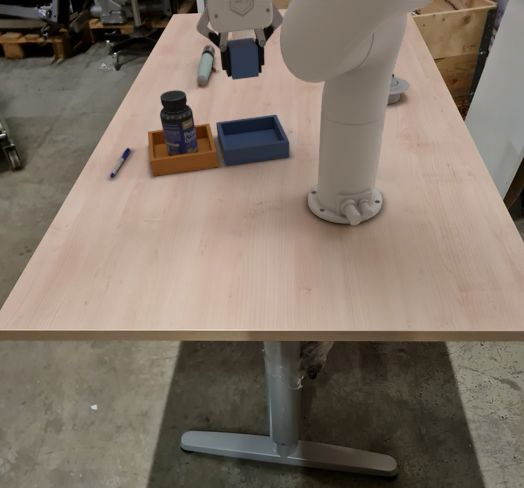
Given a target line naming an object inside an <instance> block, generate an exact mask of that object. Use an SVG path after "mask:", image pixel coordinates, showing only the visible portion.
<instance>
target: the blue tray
mask: <svg viewBox="0 0 524 488" xmlns="http://www.w3.org/2000/svg"><path fill="white" fill-rule="evenodd" d="M215 125H216V133H217V138H218V142H219V147H220V149H221V154H222V158H223V161H224V164H225V166H226V167H229V166H235V165H243V164H248V163H255V162H263V161H270V160H277V159H285V158H290V140H289V138H288V136H287V134H286V132H285V129H284V128H283V126H282V123H281V121H280V120H279V117H278V115H277V114H270V115H262V116H255V117H254V116H253V117H248V118H240V119H233V120H225V121H224V120H223V121H218V122H217V121H216V122H215Z"/></svg>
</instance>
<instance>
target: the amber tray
mask: <svg viewBox="0 0 524 488" xmlns="http://www.w3.org/2000/svg"><path fill="white" fill-rule="evenodd" d="M194 125H195V132H196V138H197V145H198V152H197V153H190V154H182V155H175V156H169V155H168V152H167V147H166V142H165V138H164V133H163V129H158V130H150V131H147V139H148V152H149V157H148V158H149V164H150V168H151V172H152V176H153V177H158V176H165V175H171V174H179V173H187V172H193V171H200V170H207V169H215V168H219V159H218V152H217V147H216V143H215V140H214V135H213V132H212V129H211V124H210V123H201V124H197V125H196V124H194Z"/></svg>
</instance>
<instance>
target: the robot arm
mask: <svg viewBox="0 0 524 488" xmlns="http://www.w3.org/2000/svg"><path fill="white" fill-rule="evenodd" d="M434 1H435V0H290V2H289V4H288V6H287V7H286V10H285V12H284V15H283V14H281V12H280V10H279V9H278V8H277V6H276V4H274V2H273V0H206V5H205V8H204V10H203V11H202V13H201V15H200V17H199V20H198V22H197V24H196V31H197V33H199V34H200V35H201V36H203V37H205V38H206V39H208V40H209V41H210V42H211V43H212V44H213V45H214V46H216V48H218V49H219V52H220V64H221V70H222V71H225V73H226V76H227V78H230V77H231V78H232V72H231V60H230V51H229V49H228V45H227V41H229V33H232V32H236V31H244V30H253V33H254V36H255V39H254V41H255V43H256V45H257V47H258V69H259V74H262V73H263V68H262V67H263V66H265V61H266V60H265V46H266V45H267V42H268V41H269V39H270V38H271V37H272V35H273V34H274V32H275V31H276V30H277V29H279V28H280V30H279V47H280V54H281V57H282V60H283V62H284V65H285V67H286V69H288V71H289V72H290V73H291V74H292V75H293V76H294V77H295V78H296V79H298V80H300V81H302V82H304V83H305V82H306V83H309V84H311V83H312V84H318V83H322V82H324V83H323V87H322V92H321V104H320V122H319V123H320V125H319V145H318V169H317V183H316V185H314V186H313V187H312V188H311V189H310V190H309V192H308V196H307V205H308V208H309V209H310V212H312V213H313V214H314V215H315V216H317V217H319V219H322V220H325V221H327V222H330V223H336V224H346V225H347V224H350V226H353V227H354V226H358V225H360V223H362V222H364V221H367V220H370V219H371V218H373V217H375V216H376V215H378V213H379V212H380V211H381V208H382V206H383V195H382V192H381V191H380V190H379V189H378V187H376V184H377V183H376V182H377V175H378V169H379V162H380V157H381V156H380V155H381V149H382V141H383V134H384V130H385V129H384V127H385V121H386V116H387V115H386V114H387V109H388V104H387V103H388V96H389V90H390V85H391V80H392V75H393V74H394V70H395V68H396V63H397V61H398V57H399V54H400V51H401V47H402V45H403V41H404V38H405V33H406V31H407V30H406V28H407V22H408V14H410V13H413V12H415V11H417V10H419V9H422V8H424V7H426V6H427V5H429V4H431V3H433V2H434ZM209 24H210V27H211V28H212V29H211V28H209V27H208V26H209Z"/></svg>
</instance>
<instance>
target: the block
mask: <svg viewBox="0 0 524 488" xmlns="http://www.w3.org/2000/svg"><path fill="white" fill-rule="evenodd" d="M227 45H228V49H229V51H230V60H231V72H232V76H231V79H232V81H234V80H242V79H243V80H244V79H251V78H258V77H260V73H259V69H258V47H257V45H256V43H255V39H254V37H253V38H246V39H237V40H233V39H228V41H227Z"/></svg>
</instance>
